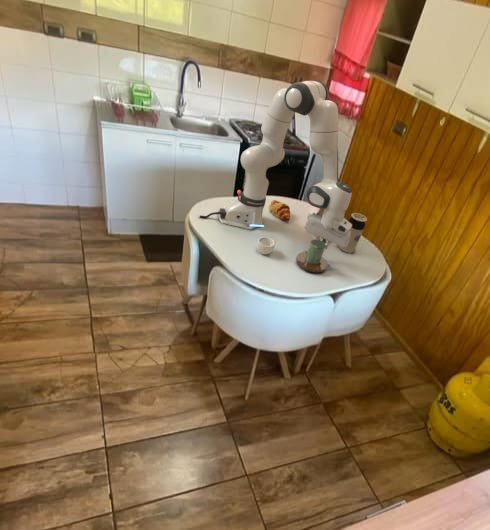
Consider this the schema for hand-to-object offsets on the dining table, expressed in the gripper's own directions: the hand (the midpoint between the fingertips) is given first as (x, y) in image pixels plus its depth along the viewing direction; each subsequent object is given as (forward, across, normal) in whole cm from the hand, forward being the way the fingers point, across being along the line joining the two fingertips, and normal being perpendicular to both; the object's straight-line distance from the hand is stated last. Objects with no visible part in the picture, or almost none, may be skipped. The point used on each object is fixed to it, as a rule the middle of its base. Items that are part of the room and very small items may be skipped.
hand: (321, 246), depth 170 cm
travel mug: (+7, +8, +20) cm, 22 cm away
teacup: (+7, -22, -13) cm, 26 cm away
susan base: (+7, -1, -7) cm, 10 cm away
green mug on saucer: (+5, -1, -7) cm, 9 cm away
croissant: (+6, -32, +26) cm, 42 cm away
